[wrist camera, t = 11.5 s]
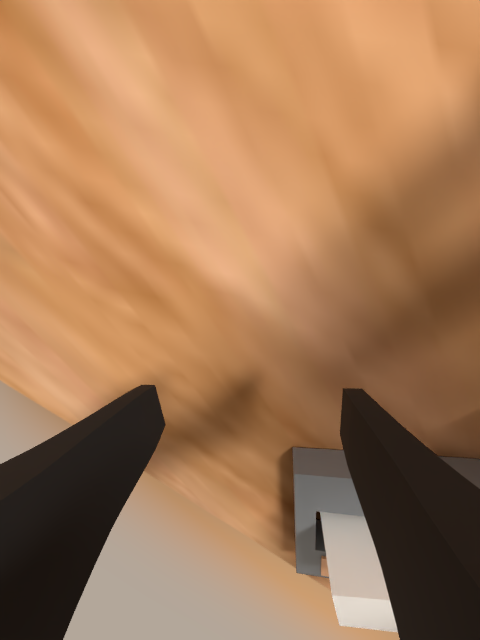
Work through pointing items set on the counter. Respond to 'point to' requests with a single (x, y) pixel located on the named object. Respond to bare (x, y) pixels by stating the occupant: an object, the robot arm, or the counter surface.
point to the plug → (356, 574)
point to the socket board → (334, 499)
